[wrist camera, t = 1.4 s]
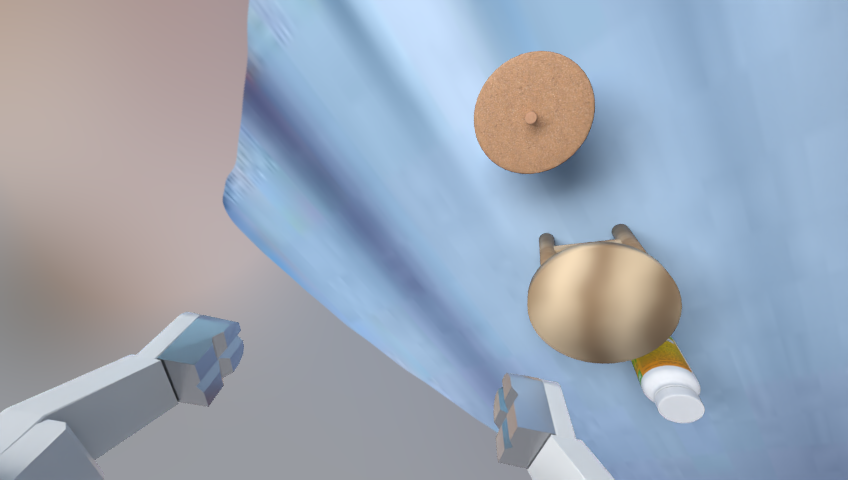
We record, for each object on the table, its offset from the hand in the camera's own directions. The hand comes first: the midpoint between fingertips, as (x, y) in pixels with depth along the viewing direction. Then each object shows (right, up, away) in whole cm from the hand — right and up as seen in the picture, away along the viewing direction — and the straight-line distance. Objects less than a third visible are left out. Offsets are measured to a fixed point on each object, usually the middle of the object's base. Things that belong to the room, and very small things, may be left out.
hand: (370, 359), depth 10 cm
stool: (+23, 0, +32) cm, 39 cm away
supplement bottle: (+32, -11, +34) cm, 48 cm away
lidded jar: (+14, +18, +27) cm, 35 cm away
